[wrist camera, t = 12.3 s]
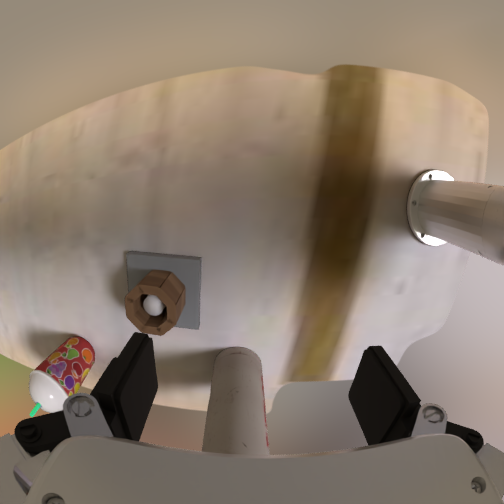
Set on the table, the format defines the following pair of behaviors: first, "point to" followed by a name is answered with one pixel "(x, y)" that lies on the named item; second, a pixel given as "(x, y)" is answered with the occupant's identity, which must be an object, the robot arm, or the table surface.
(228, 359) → the thermos bottle
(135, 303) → the walnut ring
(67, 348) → the smoothie
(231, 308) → the table surface
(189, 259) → the post stand
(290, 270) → the table surface
